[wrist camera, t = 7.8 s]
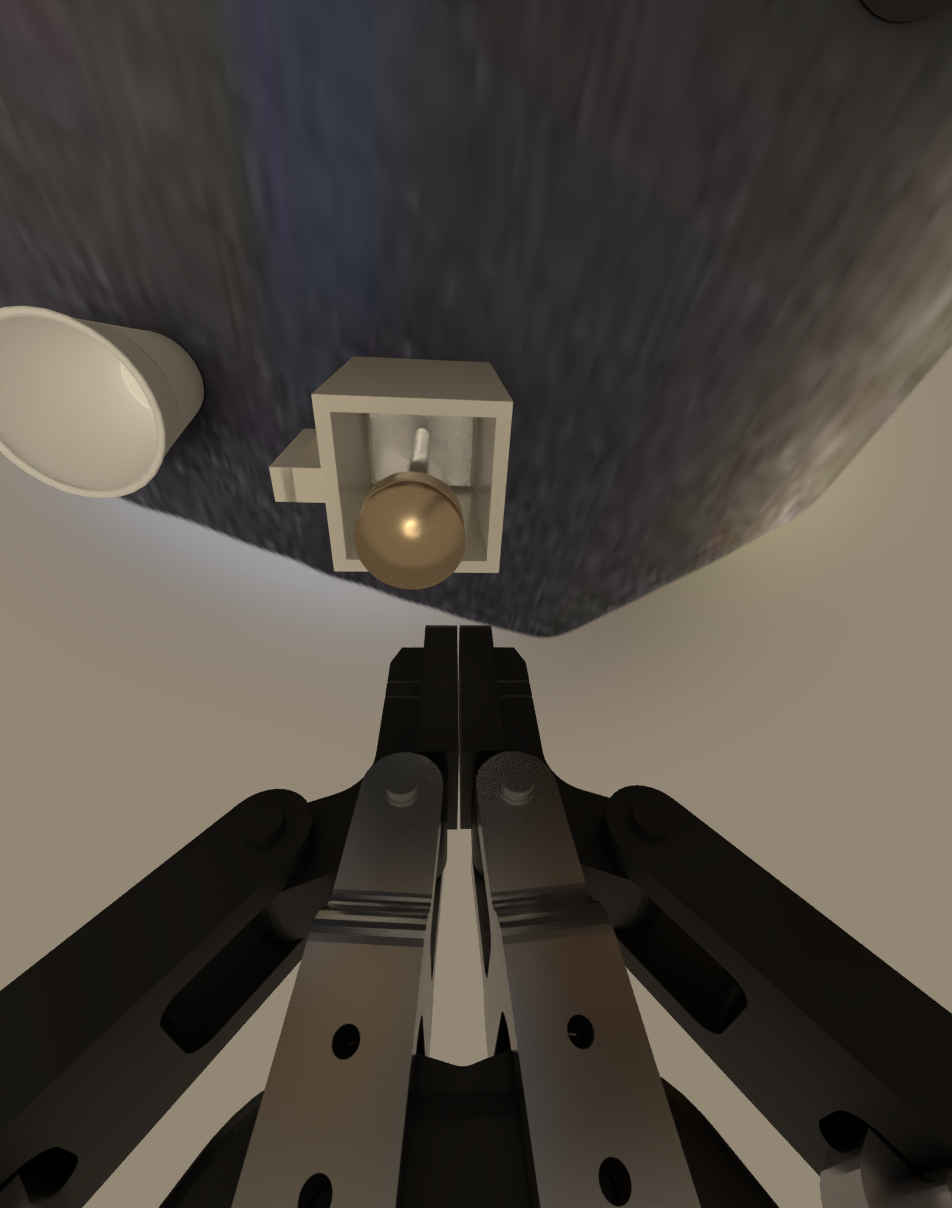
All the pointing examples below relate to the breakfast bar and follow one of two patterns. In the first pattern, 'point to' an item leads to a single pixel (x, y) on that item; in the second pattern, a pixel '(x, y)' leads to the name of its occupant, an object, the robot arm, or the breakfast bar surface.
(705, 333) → the breakfast bar surface
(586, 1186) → the robot arm
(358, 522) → the plunger
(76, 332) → the cup
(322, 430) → the press jug
